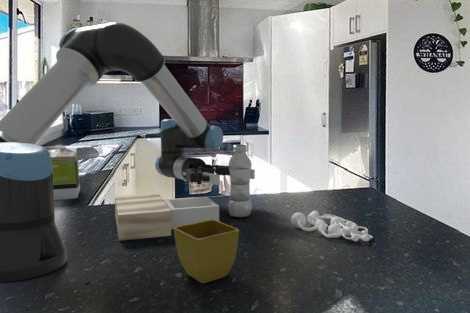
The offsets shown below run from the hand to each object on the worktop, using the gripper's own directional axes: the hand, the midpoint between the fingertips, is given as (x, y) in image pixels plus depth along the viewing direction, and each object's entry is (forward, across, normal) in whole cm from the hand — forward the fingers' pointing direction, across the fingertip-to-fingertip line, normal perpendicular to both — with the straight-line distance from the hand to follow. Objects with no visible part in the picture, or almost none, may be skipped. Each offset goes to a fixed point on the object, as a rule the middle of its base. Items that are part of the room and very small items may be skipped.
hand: (237, 177), depth 115 cm
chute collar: (-4, +13, -11) cm, 18 cm away
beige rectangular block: (-10, +25, -11) cm, 29 cm away
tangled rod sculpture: (+27, -6, -11) cm, 30 cm away
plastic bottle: (+2, +1, -11) cm, 11 cm away
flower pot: (+27, +34, -11) cm, 45 cm away
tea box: (-62, +25, -11) cm, 67 cm away
